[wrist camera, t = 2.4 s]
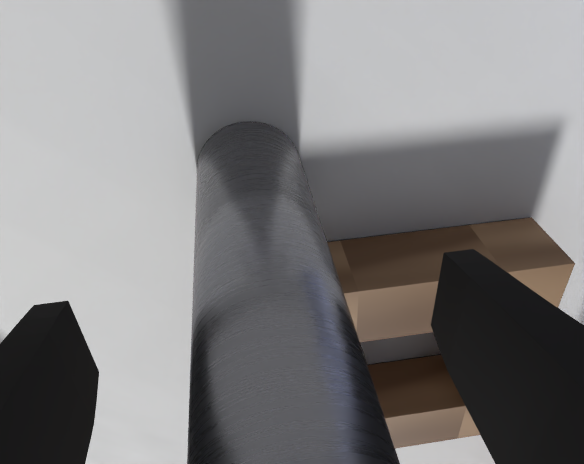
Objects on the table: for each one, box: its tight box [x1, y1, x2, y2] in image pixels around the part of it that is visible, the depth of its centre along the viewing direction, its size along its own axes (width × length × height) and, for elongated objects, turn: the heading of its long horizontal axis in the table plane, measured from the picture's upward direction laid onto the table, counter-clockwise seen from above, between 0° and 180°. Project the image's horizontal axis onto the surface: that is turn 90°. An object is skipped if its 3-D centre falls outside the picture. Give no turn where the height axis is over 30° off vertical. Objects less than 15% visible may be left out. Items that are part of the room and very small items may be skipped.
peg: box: [187, 122, 400, 464], centre depth 10 cm, size 3×3×10 cm
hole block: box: [327, 217, 575, 448], centre depth 18 cm, size 9×9×2 cm
